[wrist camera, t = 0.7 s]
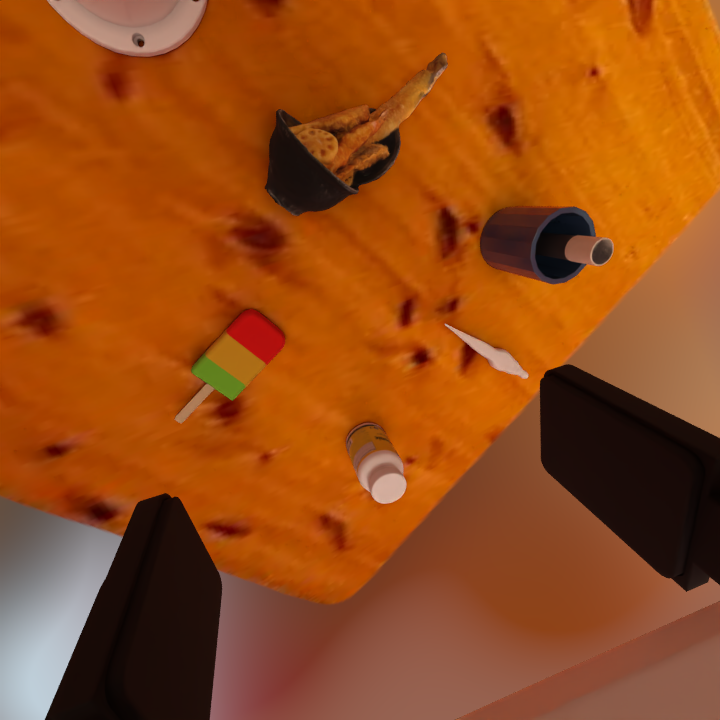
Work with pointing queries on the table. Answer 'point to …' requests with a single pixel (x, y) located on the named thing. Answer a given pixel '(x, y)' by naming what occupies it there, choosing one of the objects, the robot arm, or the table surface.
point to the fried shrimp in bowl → (340, 148)
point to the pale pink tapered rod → (492, 354)
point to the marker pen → (575, 248)
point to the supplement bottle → (376, 462)
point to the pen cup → (532, 240)
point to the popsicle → (235, 358)
